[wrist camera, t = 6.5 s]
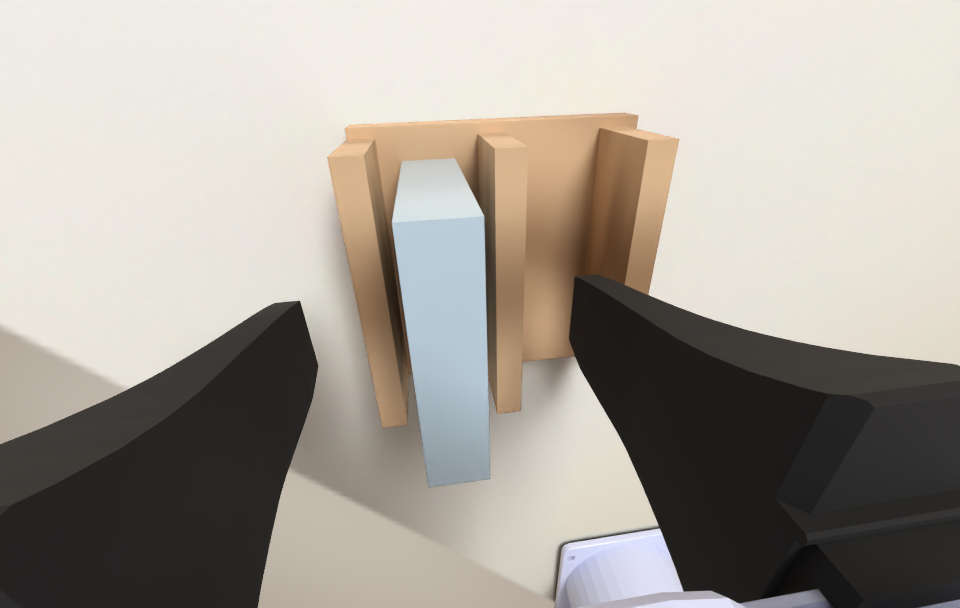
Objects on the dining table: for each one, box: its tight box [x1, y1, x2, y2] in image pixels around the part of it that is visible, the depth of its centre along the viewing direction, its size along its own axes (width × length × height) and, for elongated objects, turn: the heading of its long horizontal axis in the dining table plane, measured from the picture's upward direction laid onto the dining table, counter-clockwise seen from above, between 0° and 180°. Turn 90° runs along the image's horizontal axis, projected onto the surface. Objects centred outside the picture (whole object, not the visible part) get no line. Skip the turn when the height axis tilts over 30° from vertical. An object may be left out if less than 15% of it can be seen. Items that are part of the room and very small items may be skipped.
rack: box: [327, 113, 679, 428], centre depth 13 cm, size 9×9×4 cm
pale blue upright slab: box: [392, 158, 490, 487], centre depth 11 cm, size 7×2×6 cm, turn 2°
